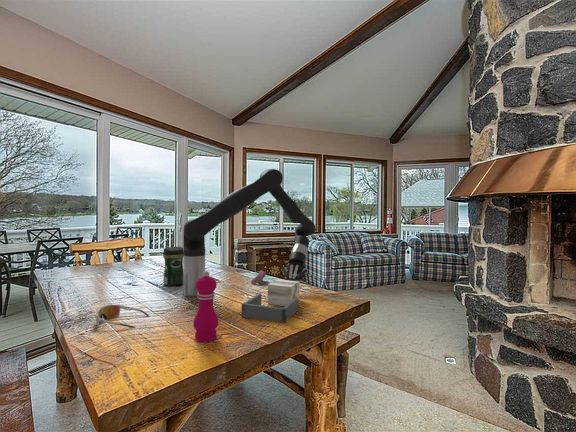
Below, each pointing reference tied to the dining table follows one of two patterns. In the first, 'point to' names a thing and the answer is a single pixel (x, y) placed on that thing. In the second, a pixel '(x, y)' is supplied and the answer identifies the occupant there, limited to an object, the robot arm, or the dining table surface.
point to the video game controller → (258, 277)
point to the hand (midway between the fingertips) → (290, 287)
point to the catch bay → (268, 310)
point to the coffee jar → (173, 266)
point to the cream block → (282, 292)
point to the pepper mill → (206, 309)
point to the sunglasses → (112, 314)
